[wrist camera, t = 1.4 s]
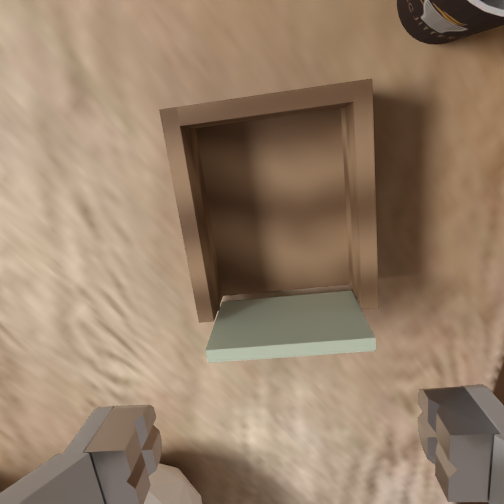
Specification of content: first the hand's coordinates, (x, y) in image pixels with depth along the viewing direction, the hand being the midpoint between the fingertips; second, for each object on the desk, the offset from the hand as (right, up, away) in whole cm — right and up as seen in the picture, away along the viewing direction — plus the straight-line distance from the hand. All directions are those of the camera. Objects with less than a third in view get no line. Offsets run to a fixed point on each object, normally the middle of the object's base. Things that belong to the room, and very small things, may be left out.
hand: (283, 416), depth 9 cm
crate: (+1, +9, +22) cm, 24 cm away
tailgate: (+2, 0, +23) cm, 23 cm away
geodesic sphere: (-12, -22, +33) cm, 41 cm away
